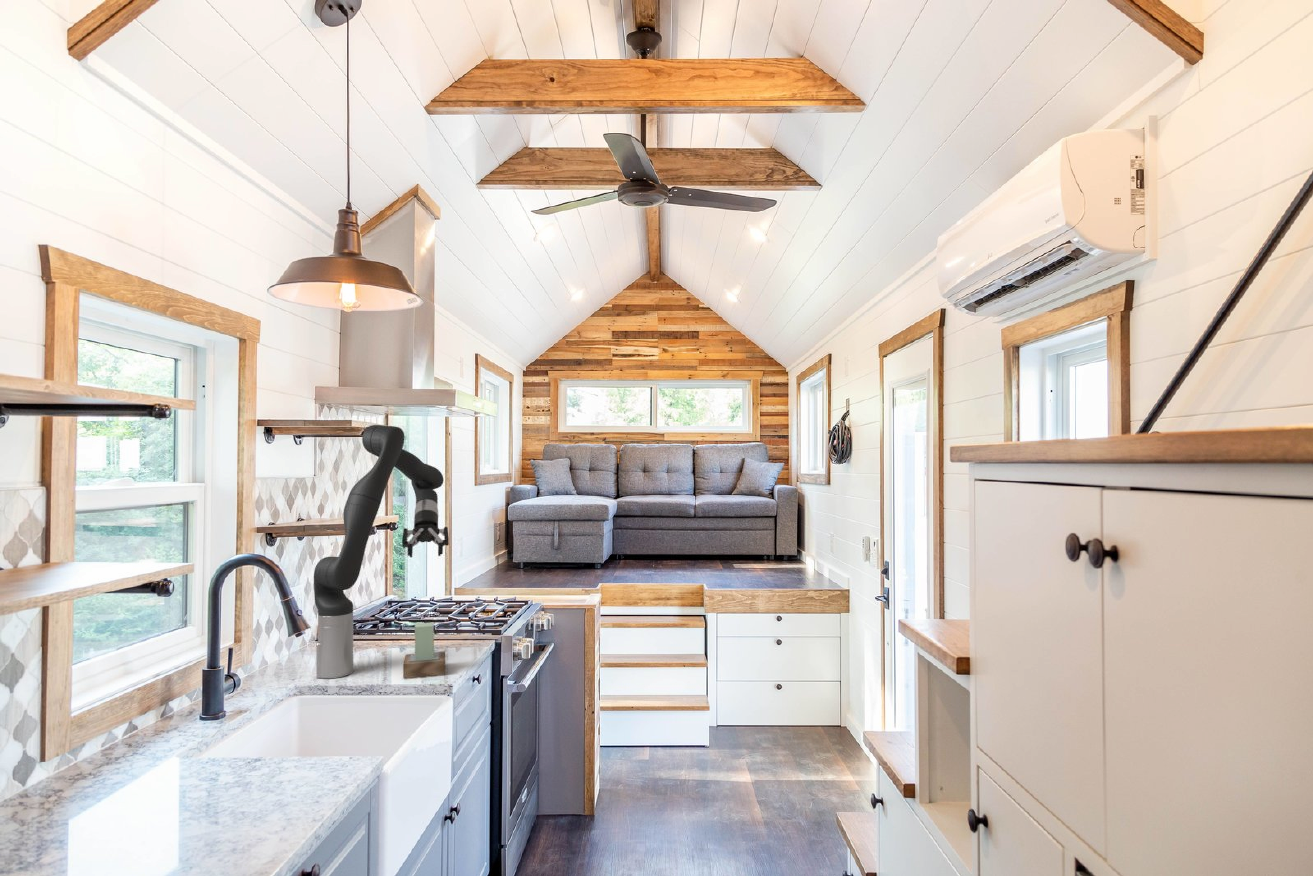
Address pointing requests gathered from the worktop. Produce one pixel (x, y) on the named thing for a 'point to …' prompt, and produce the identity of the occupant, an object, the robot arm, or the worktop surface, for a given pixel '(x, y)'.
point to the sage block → (424, 640)
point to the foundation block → (424, 666)
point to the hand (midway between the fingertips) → (425, 555)
